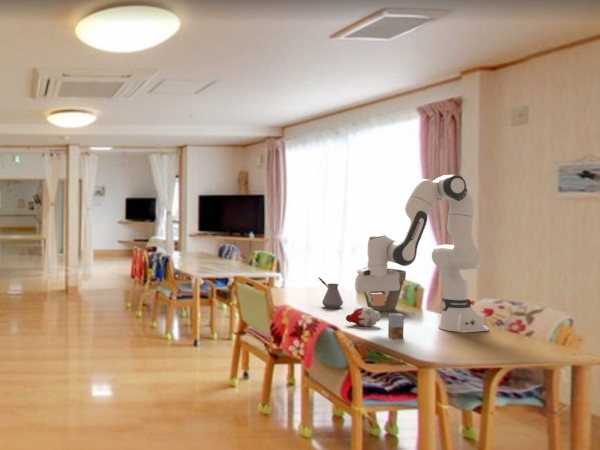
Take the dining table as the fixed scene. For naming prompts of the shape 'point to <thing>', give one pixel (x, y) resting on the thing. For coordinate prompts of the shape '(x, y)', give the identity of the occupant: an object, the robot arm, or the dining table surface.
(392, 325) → the block
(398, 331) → the tower base
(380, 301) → the terracotta block
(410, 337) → the dining table surface
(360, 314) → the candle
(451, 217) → the robot arm
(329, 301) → the coffee pot
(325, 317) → the dining table surface
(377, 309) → the plant pot
